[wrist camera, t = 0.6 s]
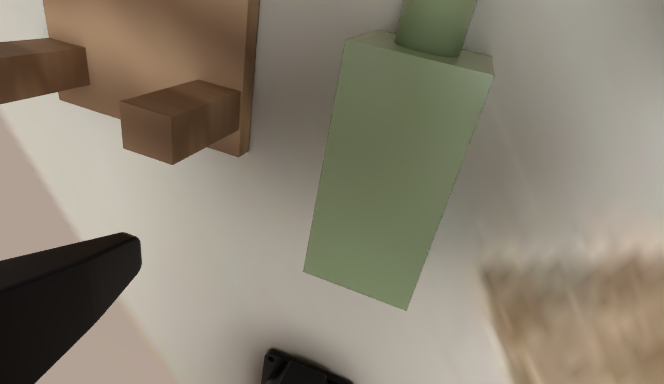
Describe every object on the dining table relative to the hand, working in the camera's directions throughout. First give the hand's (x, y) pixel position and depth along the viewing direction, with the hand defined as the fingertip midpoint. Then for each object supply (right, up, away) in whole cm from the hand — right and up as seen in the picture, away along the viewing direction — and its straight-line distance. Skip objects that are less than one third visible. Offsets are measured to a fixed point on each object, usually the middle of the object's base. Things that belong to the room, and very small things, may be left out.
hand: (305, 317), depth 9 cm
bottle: (+4, +7, +9) cm, 12 cm away
